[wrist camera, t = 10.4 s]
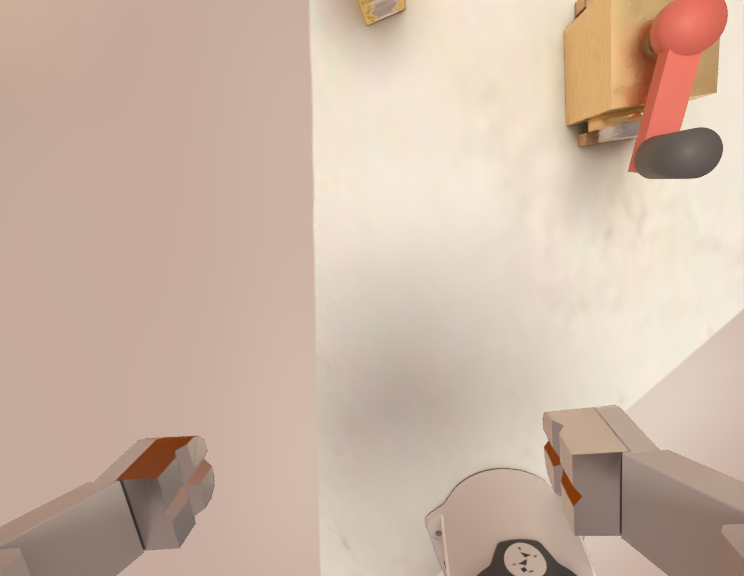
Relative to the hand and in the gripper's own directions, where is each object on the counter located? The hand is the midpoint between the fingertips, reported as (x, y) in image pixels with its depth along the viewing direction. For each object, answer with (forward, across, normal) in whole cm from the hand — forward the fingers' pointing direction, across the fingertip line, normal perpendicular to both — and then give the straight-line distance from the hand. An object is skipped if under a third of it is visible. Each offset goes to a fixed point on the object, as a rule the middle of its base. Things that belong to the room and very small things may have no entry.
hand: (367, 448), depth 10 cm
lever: (+23, -19, -9) cm, 32 cm away
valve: (+34, -20, -13) cm, 42 cm away
